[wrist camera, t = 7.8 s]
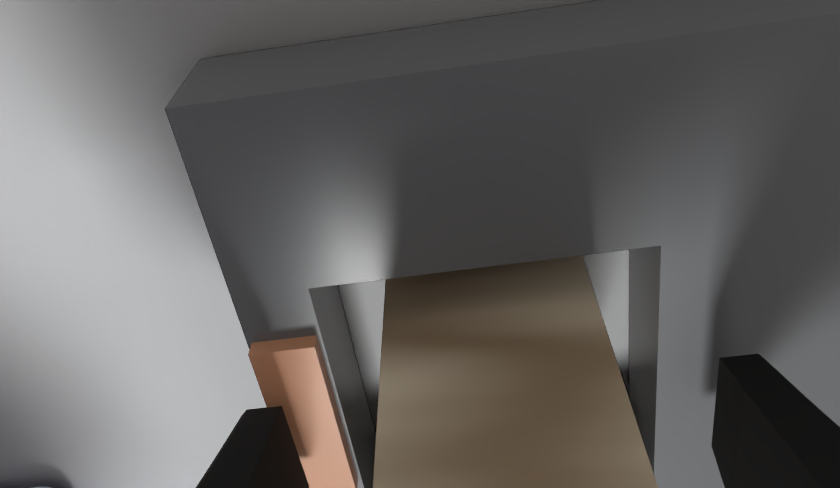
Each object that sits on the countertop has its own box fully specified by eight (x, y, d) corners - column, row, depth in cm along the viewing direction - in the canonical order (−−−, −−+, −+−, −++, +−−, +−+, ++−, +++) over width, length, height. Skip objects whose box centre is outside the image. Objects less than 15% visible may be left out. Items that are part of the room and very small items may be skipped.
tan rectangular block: (414, 393, 16) (412, 688, 11) (387, 257, 14) (369, 538, 9) (581, 376, 16) (657, 669, 11) (575, 235, 14) (666, 511, 9)
